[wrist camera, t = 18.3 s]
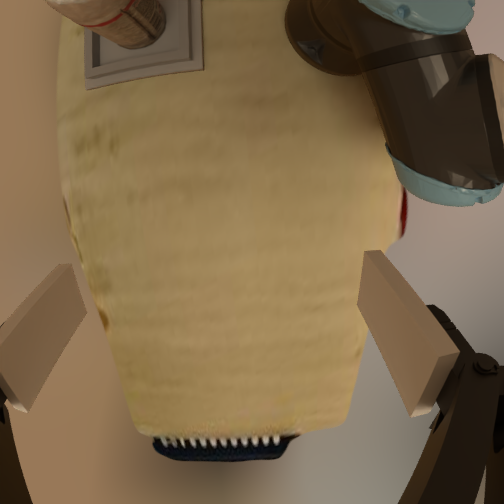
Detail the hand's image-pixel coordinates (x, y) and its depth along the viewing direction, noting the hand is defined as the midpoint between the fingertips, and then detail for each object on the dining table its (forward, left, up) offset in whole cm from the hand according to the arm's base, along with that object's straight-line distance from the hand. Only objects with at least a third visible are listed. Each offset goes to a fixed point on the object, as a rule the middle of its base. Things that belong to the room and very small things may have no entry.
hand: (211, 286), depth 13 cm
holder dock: (+12, -22, -32) cm, 40 cm away
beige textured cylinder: (+12, -22, -31) cm, 40 cm away
